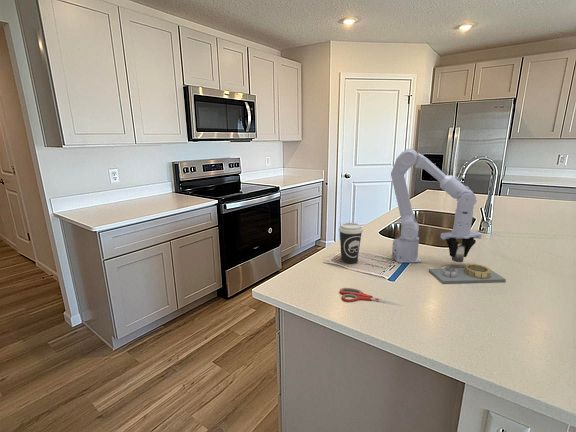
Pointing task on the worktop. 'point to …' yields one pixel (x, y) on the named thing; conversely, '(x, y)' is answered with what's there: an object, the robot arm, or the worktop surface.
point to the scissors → (360, 296)
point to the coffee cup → (350, 242)
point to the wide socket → (484, 270)
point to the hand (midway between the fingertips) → (457, 256)
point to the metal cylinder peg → (459, 253)
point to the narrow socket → (449, 271)
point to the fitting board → (465, 277)
